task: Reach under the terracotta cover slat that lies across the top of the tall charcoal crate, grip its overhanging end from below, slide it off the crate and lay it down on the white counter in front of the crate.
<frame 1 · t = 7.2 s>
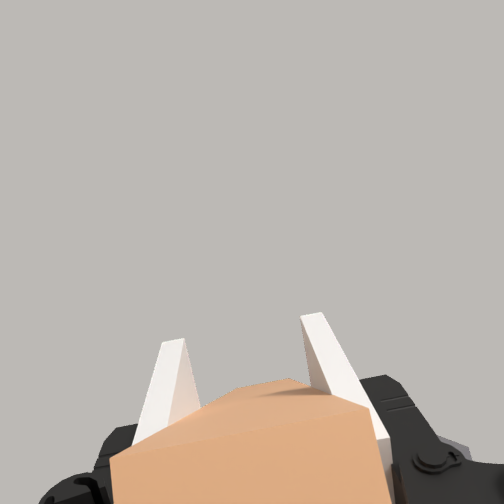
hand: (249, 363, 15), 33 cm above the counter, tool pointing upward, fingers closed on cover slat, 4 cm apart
cover slat: (271, 462, 20), point 29 cm above the counter, touching charcoal crate, gripper
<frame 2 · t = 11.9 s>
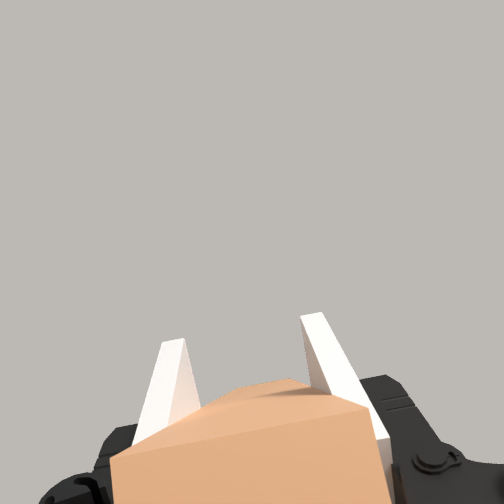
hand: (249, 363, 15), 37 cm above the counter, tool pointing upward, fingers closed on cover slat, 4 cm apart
cover slat: (271, 462, 20), point 33 cm above the counter, touching gripper
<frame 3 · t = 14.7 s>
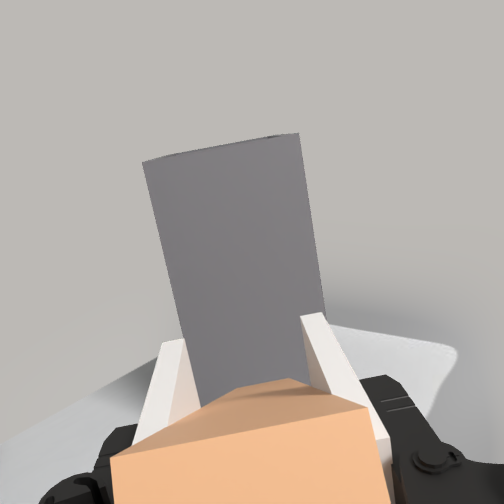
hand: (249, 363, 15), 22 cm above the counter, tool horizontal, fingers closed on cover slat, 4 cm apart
charcoal crate: (267, 384, 55), on the counter
cover slat: (271, 462, 20), point 16 cm above the counter, tilted 29°, touching gripper
when the fingers open (14 cm above the counter, at t = 16.8 s): cover slat drops 9 cm, on the counter.
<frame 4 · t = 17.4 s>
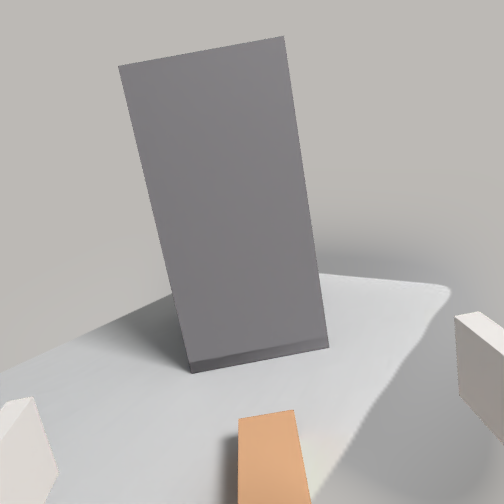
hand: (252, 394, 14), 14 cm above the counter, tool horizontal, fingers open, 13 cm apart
charcoal crate: (254, 323, 54), on the counter
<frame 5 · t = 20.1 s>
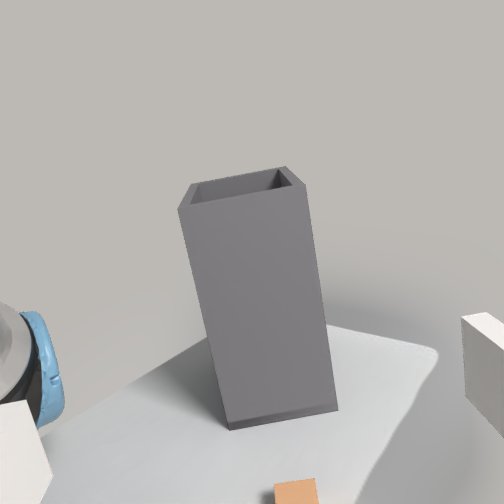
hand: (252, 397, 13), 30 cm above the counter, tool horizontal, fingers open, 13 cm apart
charcoal crate: (276, 380, 66), on the counter
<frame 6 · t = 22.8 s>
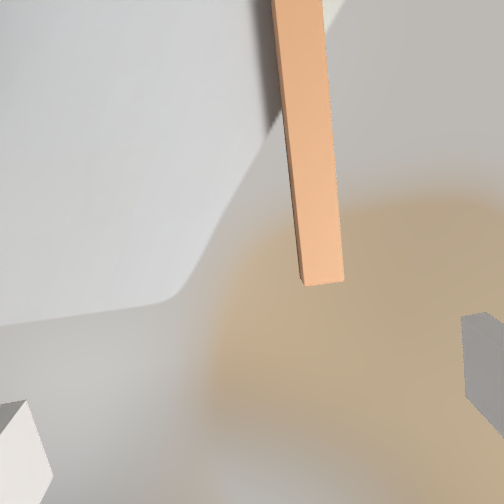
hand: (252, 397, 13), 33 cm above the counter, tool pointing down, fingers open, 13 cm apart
cover slat: (305, 139, 44), on the counter
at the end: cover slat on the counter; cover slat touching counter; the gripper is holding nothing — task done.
